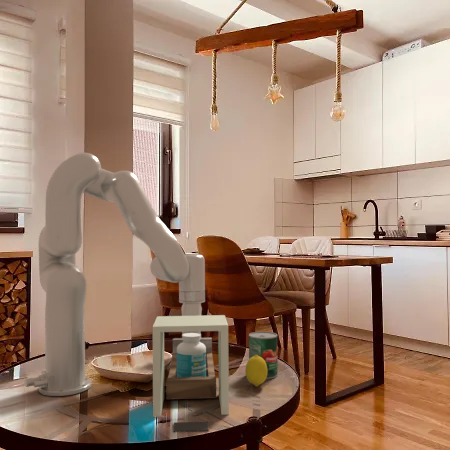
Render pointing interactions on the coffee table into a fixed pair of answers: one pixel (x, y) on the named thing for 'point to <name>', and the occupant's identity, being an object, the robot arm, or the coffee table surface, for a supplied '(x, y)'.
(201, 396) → the wooden compartment tray
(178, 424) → the mat
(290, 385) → the coffee table surface
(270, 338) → the canned tomato
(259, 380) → the lemon
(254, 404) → the coffee table surface
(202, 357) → the pill bottle
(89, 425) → the coffee table surface
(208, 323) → the tunnel
